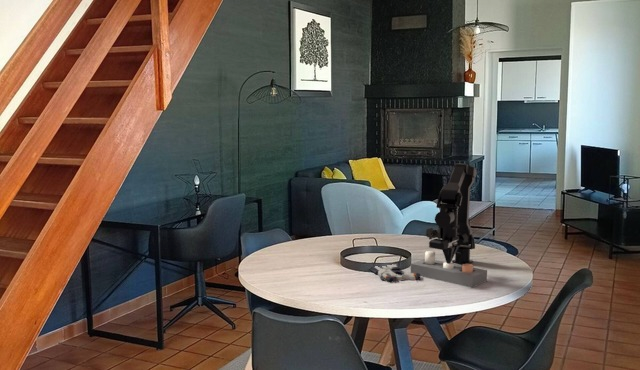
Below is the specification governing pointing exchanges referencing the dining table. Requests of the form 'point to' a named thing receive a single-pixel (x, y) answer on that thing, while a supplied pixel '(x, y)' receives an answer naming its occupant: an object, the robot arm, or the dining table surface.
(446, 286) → the dining table surface
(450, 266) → the plug white mid
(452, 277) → the socket board
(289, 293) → the dining table surface
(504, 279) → the dining table surface
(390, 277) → the toy gun
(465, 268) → the plug terracotta
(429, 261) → the plug white near
